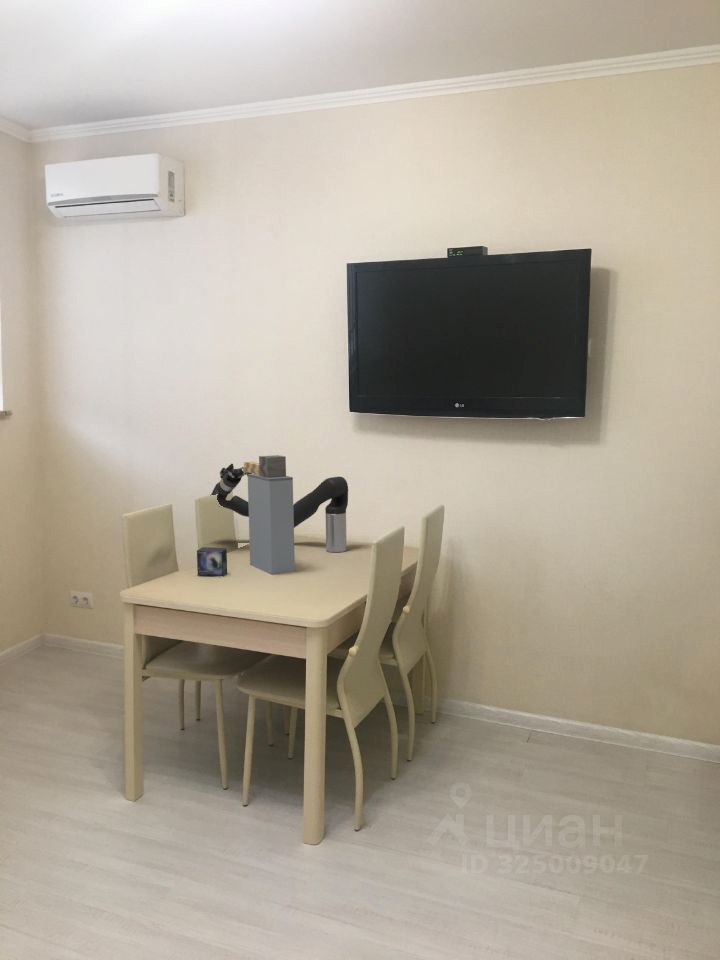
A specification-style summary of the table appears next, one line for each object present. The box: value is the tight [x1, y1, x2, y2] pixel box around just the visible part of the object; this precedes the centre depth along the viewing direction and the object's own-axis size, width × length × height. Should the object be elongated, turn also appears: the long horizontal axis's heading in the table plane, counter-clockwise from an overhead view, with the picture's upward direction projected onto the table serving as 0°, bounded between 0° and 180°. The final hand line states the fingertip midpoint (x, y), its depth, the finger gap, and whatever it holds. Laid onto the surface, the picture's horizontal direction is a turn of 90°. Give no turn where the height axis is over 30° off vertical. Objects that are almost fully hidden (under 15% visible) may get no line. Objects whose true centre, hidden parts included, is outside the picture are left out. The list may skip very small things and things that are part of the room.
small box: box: [196, 546, 228, 577], centre depth 322 cm, size 11×6×10 cm, turn 80°
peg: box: [243, 454, 287, 478], centre depth 335 cm, size 29×8×8 cm, turn 30°
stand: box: [247, 473, 296, 576], centre depth 331 cm, size 22×10×38 cm, turn 30°
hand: (241, 465), depth 353 cm, fingers open, 8 cm apart
